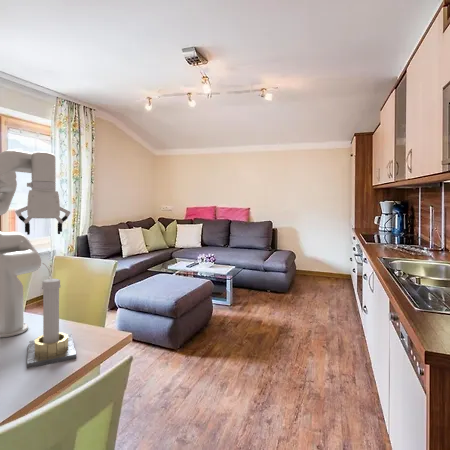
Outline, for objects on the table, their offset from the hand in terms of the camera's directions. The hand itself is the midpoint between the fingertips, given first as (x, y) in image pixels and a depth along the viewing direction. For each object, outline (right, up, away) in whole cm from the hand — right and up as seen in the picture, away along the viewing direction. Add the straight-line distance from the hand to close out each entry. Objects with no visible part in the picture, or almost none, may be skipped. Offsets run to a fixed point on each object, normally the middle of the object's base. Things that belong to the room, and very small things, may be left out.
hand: (44, 234), depth 116 cm
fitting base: (+5, -41, -5) cm, 42 cm away
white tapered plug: (+6, -40, -7) cm, 41 cm away
